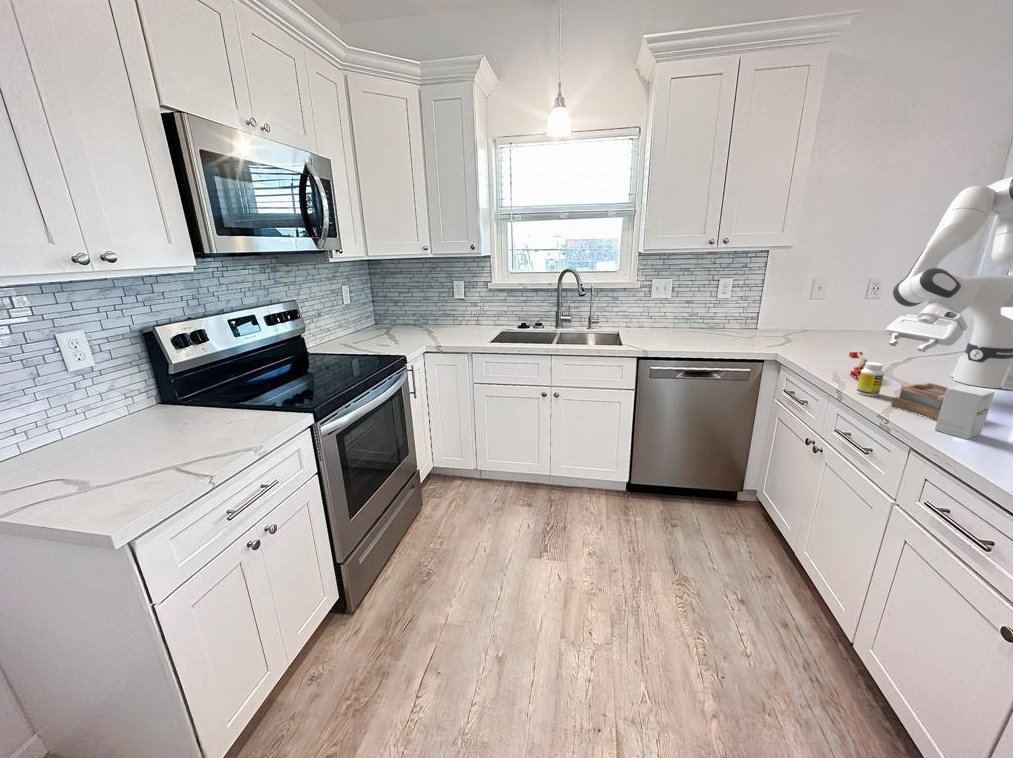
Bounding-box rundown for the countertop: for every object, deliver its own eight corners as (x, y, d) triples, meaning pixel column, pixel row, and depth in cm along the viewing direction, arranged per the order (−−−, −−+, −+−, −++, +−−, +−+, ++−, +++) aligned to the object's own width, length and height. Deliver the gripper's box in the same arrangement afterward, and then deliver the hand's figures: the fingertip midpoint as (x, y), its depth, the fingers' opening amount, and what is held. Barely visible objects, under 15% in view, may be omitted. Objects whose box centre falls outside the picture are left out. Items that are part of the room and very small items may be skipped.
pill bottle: (873, 398, 149) (880, 366, 146) (852, 393, 155) (859, 362, 151) (882, 394, 152) (889, 364, 149) (861, 390, 157) (868, 360, 154)
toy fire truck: (863, 383, 164) (869, 359, 161) (844, 373, 177) (849, 350, 174) (873, 384, 164) (879, 359, 161) (853, 374, 176) (859, 350, 174)
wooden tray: (922, 402, 144) (928, 381, 142) (970, 416, 132) (977, 394, 130) (891, 406, 142) (896, 385, 140) (936, 421, 130) (943, 398, 128)
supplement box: (968, 440, 117) (982, 395, 114) (933, 430, 124) (945, 387, 120) (982, 435, 120) (996, 391, 116) (947, 425, 127) (959, 383, 123)
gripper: (899, 307, 159) (872, 336, 160) (966, 315, 140) (934, 347, 141) (906, 319, 161) (879, 347, 162) (973, 328, 142) (942, 360, 143)
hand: (905, 347), depth 151 cm, fingers open, 8 cm apart
